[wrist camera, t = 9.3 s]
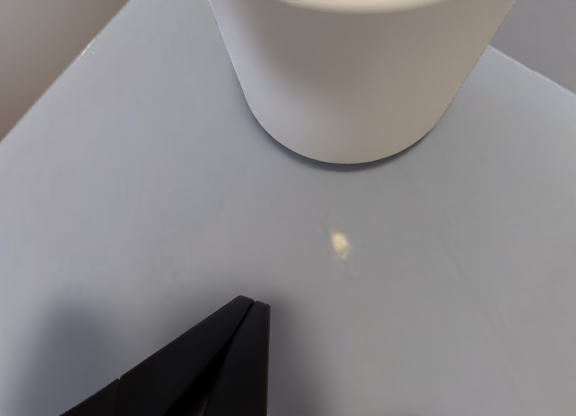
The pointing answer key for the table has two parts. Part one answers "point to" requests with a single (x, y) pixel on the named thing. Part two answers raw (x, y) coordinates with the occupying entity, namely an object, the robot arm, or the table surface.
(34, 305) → the table surface
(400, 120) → the cup
